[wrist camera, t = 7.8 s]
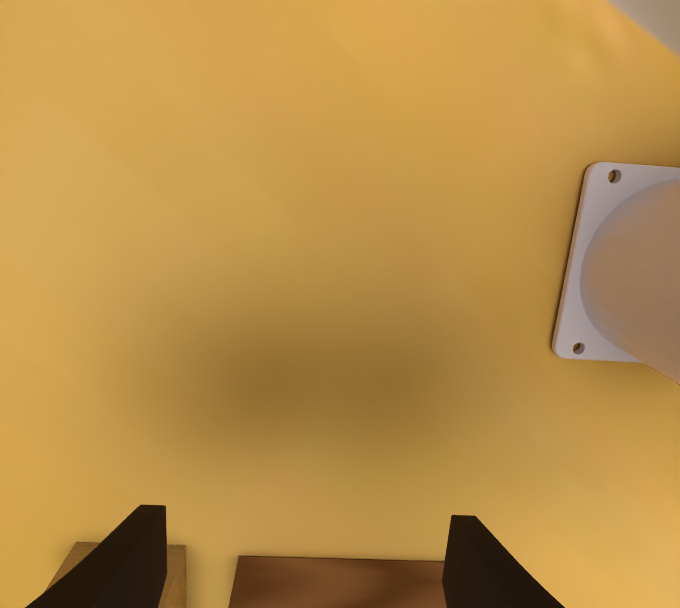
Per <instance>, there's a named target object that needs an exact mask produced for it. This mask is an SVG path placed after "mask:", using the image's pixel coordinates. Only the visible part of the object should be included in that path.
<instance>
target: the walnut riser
mask: <svg viewBox="0 0 680 608" xmlns="http://www.w3.org/2000/svg"><path fill="white" fill-rule="evenodd" d="M443 569H444V562H431V561H394V560H358V559H321V558H285V557H248V556H239V559H238V564H237V569H236V573H235V578H234V583H233V588H232V593H231V598H230V603H229V608H447V606H446V601H445V595H444V590H443V585H442V575H443Z"/></svg>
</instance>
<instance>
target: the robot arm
mask: <svg viewBox="0 0 680 608" xmlns="http://www.w3.org/2000/svg"><path fill="white" fill-rule="evenodd" d="M612 170H614V171H615V173H616V177H615V179H614V181H612V182H611V183H610V181H609V180H608V175H609V173H610V172H611V171H612ZM576 343H580V347H579V349H578V350H576V351H573V346H574V345H575V344H576ZM552 350H553V352H554V353H555V354H556V355H558V356H559V357H560V358H564V359H581V360H600V361H620V362H639V363H644V364H646V365H648V366H649V367H651V368H653V369H654V370H656V371H658V372H659V373H661V374H662V375H664V376H666V377H667V378H669V379H671V380H672V381H674V382H676V383H677V384H679V385H680V168H678V167H665V166H652V165H639V164H625V163H612V162H596V163H593V164H592V165H590V166H589V167H588V169H587V170H586V173H585V176H584V181H583V186H582V192H581V197H580V202H579V207H578V212H577V217H576V223H575V228H574V233H573V238H572V243H571V248H570V254H569V259H568V264H567V269H566V274H565V279H564V285H563V290H562V295H561V300H560V305H559V310H558V316H557V321H556V326H555V331H554V336H553V341H552ZM166 577H167V538H166V506H164V505H140V506H139V507H137V508H136V509H135V510H134V511H133V512H132V513H131V514H130V515H129V516H128V517H127V518H126V519H125V520H124V521H123V522H122V523H121V524H120V525H119V526H118V527H117V528H116V529H115V530H114V531H112V532H111V533H110V534H109V535H108V536H107V537H106V538H105V539H104V540H103V541H102V542H101V543H100V544H99V545H98V546H97V547H96V548H94V549H93V550H92V551H91V552H90V553H89V554H88V555H87V556H86V557H85V558H84V559H82V560H81V561H80V562H79V563H78V564H77V565H76V566H75V567H74V568H73V569H71V570H70V571H69V572H68V573H67V574H66V575H64V576H63V577H62V578H61V579H60V580H58V581H57V582H56V583H55V584H54V585H52V586H51V587H50V588H49V589H48V590H47V591H45V592H44V593H43V594H42V595H41V596H39V597H38V598H37V599H35V600H34V601H33V602H32V603H30V604H29V605H28V606H27V607H25V608H158V606H159V602H160V599H161V595H162V592H163V588H164V584H165V581H166ZM442 585H443V590H444V595H445V601H446V606H447V608H565V607H564V606H563V605H561V604H560V603H559V602H558V601H557V600H556V599H555V598H554V597H553V596H552V595H551V594H550V593H549V592H547V591H546V590H545V589H544V588H543V587H542V586H541V585H540V584H539V583H538V582H537V581H536V580H535V579H534V578H533V577H532V576H531V575H530V574H529V573H528V572H527V571H526V570H525V569H524V568H523V567H522V566H521V565H520V564H519V563H518V561H517V560H516V559H515V558H514V557H513V556H512V555H511V554H510V553H509V552H508V551H507V550H506V549H505V548H504V547H503V545H502V544H501V543H500V542H499V541H498V540H497V539H496V538H495V537H494V536H493V535H492V533H491V532H490V531H489V530H488V529H487V528H486V527H485V526H484V525H483V524H482V523H481V521H480V520H479V519H478V518H477V517H476V516H467V515H452V516H451V523H450V529H449V536H448V543H447V549H446V556H445V562H444V569H443V575H442Z"/></svg>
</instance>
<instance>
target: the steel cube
mask: <svg viewBox="0 0 680 608" xmlns="http://www.w3.org/2000/svg"><path fill="white" fill-rule="evenodd" d="M99 544H100V543H92V542H76V543H75V545H74V546H73V548H72V550H71V551H70V553H69V554H68V556H67V557H66V559H65V560H64V562H63V564H62V565H61V567H60V568H59V570H58V571H57V573H56V575H55V576H54V578H53V579H52V581H51V582H50V584H49V585H48V587H47V589H46V590H45V591H47V590H48V589H49V588H50V587H51V586H52V585H54V584H55V583H56V582H57V581H58V580H60V579H61V578H62V577H63V576H64V575H66V574H67V573H68V572H69V571H70V570H71V569H73V568H74V567H75V566H76V565H77V564H78V563H79V562H80V561H81V560H82V559H84V558H85V557H86V556H87V555H88V554H89V553H90V552H91V551H92V550H93V549H94V548H96V547H97V546H98V545H99ZM158 608H187V606H186V545H167V577H166V581H165V584H164V588H163V592H162V595H161V599H160V602H159V606H158Z"/></svg>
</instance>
